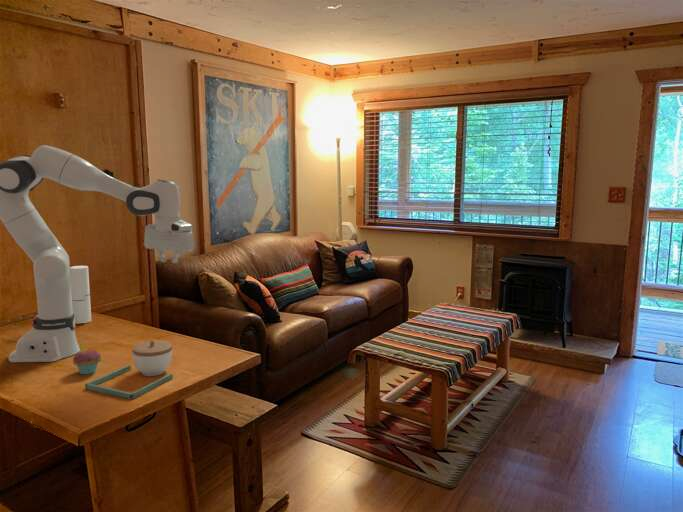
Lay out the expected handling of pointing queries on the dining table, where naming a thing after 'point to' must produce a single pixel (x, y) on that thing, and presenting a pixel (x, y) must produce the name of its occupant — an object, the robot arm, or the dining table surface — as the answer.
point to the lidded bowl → (152, 357)
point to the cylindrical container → (80, 294)
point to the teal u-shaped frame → (94, 386)
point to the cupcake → (86, 360)
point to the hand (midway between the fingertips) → (169, 262)
